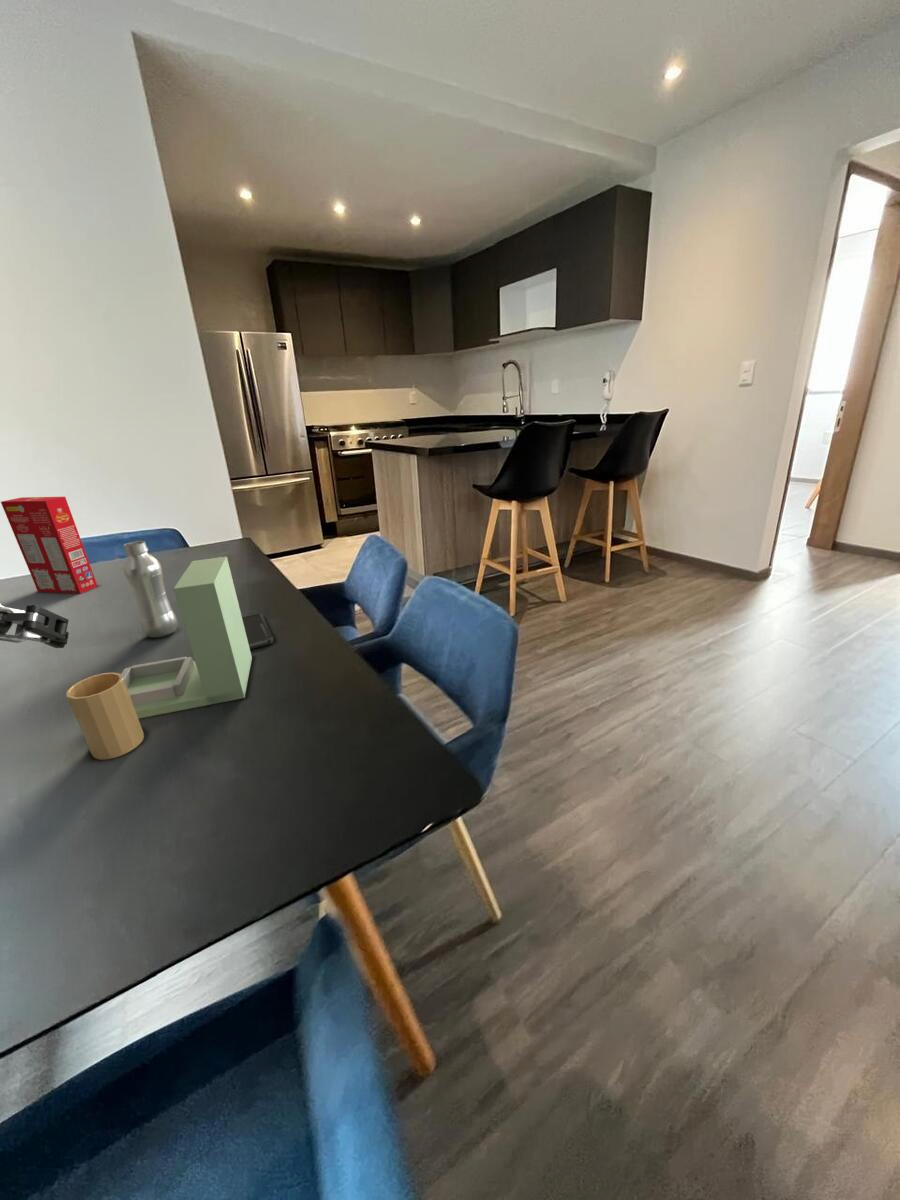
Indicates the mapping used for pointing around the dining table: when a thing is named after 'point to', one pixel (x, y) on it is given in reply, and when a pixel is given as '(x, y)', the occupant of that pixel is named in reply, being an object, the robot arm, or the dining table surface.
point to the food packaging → (50, 544)
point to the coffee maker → (198, 648)
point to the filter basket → (106, 715)
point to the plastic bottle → (149, 590)
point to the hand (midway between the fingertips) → (22, 640)
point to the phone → (257, 631)
